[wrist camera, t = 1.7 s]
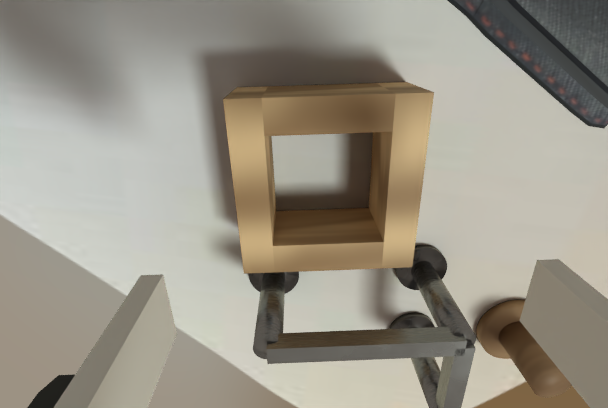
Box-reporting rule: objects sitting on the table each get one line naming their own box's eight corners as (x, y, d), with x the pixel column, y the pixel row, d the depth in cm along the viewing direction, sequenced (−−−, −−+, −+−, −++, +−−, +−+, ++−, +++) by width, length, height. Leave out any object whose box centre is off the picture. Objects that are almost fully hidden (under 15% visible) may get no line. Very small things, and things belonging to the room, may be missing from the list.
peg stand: (482, 301, 31) (523, 357, 25) (550, 298, 31) (605, 353, 26) (470, 351, 33) (505, 411, 28) (533, 348, 34) (580, 408, 28)
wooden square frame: (237, 87, 23) (222, 99, 18) (406, 81, 23) (433, 92, 18) (252, 234, 28) (244, 273, 23) (392, 229, 28) (412, 267, 23)
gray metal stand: (247, 251, 28) (229, 333, 20) (447, 244, 28) (505, 321, 21) (258, 352, 33) (247, 449, 25) (430, 345, 33) (472, 439, 25)
